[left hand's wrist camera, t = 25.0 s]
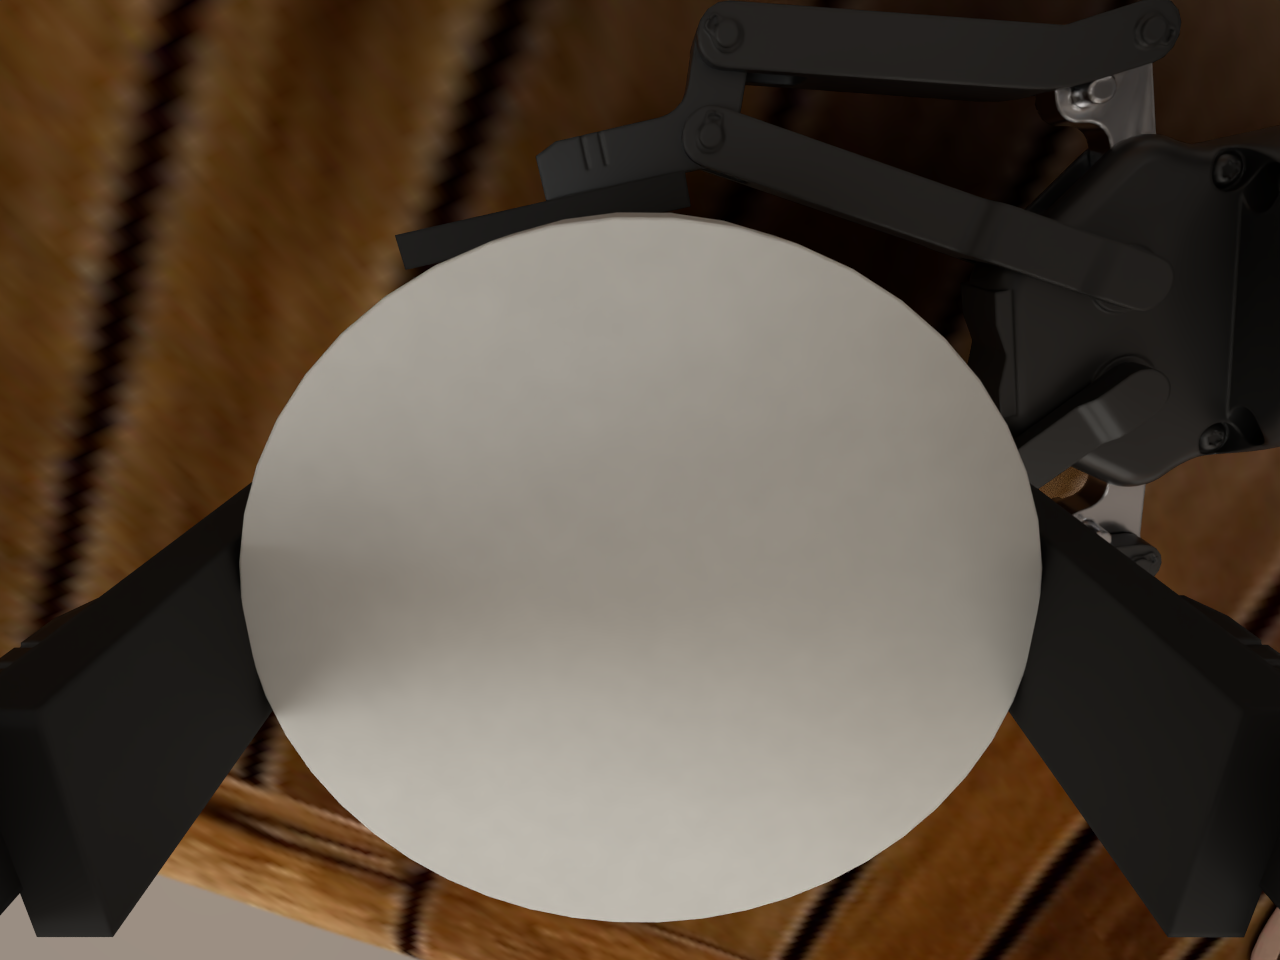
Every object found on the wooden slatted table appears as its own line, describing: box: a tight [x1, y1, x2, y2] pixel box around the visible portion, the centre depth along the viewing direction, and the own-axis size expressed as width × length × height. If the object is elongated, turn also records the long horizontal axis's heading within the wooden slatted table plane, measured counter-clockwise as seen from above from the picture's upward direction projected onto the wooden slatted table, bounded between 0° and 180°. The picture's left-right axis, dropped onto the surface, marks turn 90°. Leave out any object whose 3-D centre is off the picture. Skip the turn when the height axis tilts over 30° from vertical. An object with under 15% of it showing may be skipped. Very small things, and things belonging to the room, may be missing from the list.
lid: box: [239, 212, 1042, 922], centre depth 11 cm, size 10×10×2 cm
